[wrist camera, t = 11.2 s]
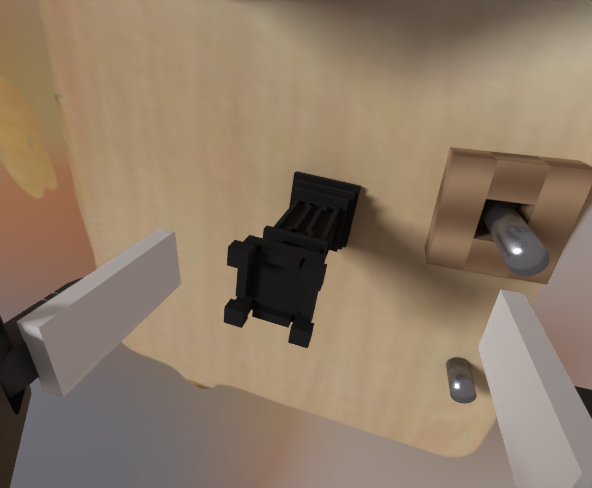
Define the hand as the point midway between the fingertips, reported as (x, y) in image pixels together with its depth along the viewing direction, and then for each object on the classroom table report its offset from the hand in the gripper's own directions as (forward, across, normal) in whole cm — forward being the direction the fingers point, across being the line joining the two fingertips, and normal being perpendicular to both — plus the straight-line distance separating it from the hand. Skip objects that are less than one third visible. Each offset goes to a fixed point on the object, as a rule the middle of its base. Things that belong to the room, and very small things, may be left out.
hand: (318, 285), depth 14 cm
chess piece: (+29, -5, -8) cm, 30 cm away
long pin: (+29, +14, -5) cm, 32 cm away
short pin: (+29, +16, -28) cm, 43 cm away
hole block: (+29, +14, -5) cm, 32 cm away
